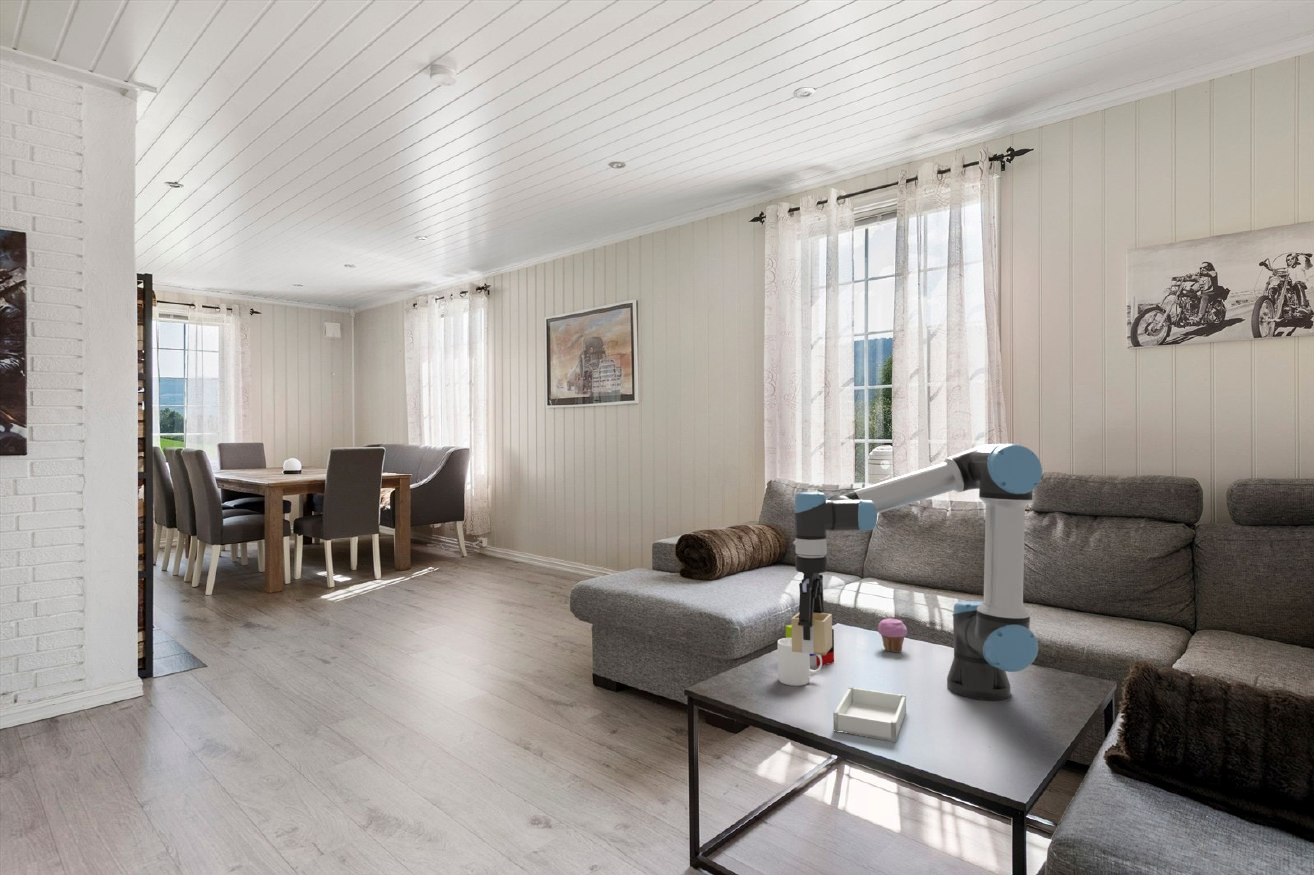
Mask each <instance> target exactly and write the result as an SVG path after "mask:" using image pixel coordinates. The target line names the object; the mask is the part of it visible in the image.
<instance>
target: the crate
mask: <svg viewBox="0 0 1314 875" xmlns="http://www.w3.org/2000/svg"><path fill="white" fill-rule="evenodd" d="M906 714H907V694H905V693H901V694H898V693H891V692H885V691H880V690H879V691H878V690H871V689H864V688H860V687H859V688H858V687H854V686H848V689H847V690H846V692H845V693H844V695H843V697H842V699H841V700H840V702H839V704H838V705H837V707H836V708H835V710H834V711H833V731H834V730H835V731H843V732H847V733H850V734H849V735H851V734H855V735H854V736H857V735H859V736H858V737H863V736H865V737H864V738H868V737H870V738H869V739H876V740H880V741H885V740H886V741H887V742H890V743H891V742H892V743H896V742H897V740H898V737H899V734H900V732H901V728H902V726H903V722H904V719H905V717H906ZM835 731H834V732H835Z"/></svg>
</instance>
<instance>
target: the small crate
mask: <svg viewBox="0 0 1314 875" xmlns="http://www.w3.org/2000/svg"><path fill="white" fill-rule="evenodd" d="M825 613H826V612H824V613H814V612H813V621H812V626H814V654H817V655H826V654H827V652H828V651H829V650H830V649H831V648H832V629H833V615H832V613H826V614H825ZM798 623H799V611H798V612H797V613H796V614H795V615H794V616H792V617H791V622H790V625H791V627H792V651H793V652H801V653H802V626H798Z"/></svg>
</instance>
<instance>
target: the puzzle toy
mask: <svg viewBox="0 0 1314 875" xmlns="http://www.w3.org/2000/svg"><path fill="white" fill-rule="evenodd" d="M834 631H835V630H834V628H832V648H831V649H830V650H829V651H828V652H827V654H826V655H821V657H822V666H825V665H828V664H827V663H830V664H833V663H832V662H834V663H835V632H834ZM785 638H792V627H791V624H788V625H785ZM820 664H821V662H820V659H819V657H818V656H817V655H815V654H810V668H814V667H815V668H816V667H820ZM824 664H825V665H824Z"/></svg>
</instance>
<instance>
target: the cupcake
mask: <svg viewBox="0 0 1314 875" xmlns="http://www.w3.org/2000/svg"><path fill="white" fill-rule="evenodd" d="M877 631H878V632H877V633H879V635H880V636H881V638H882V645H883V648H884V649H885V651H886V652H887V651H888V652H895V653H900V652H902V650H903V644H904V641H905V640H904V639H905V638H906V636H907V634H908V628H907V627H906V625H905V624H904V622H903V621H902V620H900V619H898V618H897V619H896V618H885V619H882V620H881V621H880V622H879V623H878V626H877Z"/></svg>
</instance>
